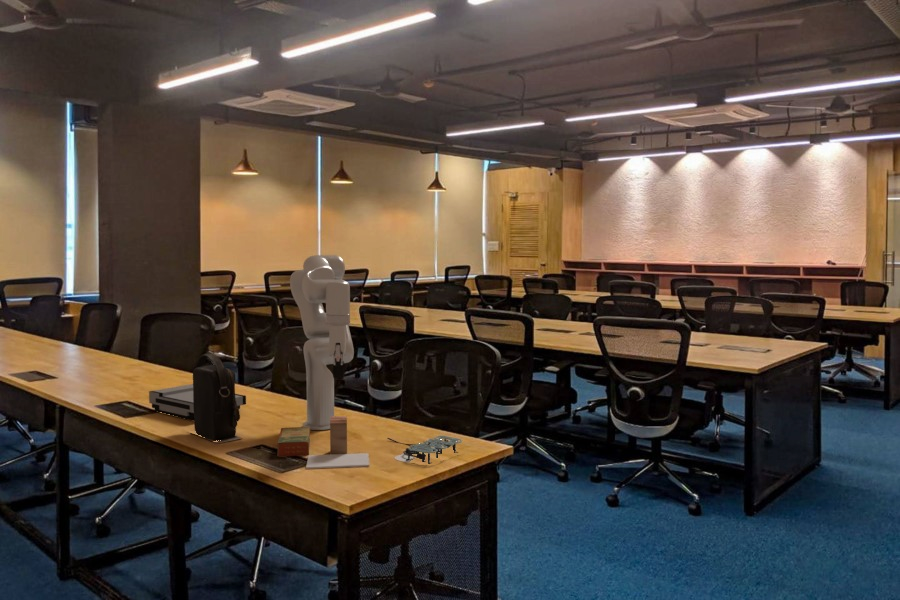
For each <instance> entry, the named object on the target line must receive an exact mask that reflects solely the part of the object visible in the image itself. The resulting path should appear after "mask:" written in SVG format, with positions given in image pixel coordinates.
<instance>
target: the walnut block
mask: <svg viewBox="0 0 900 600" xmlns="http://www.w3.org/2000/svg"><path fill="white" fill-rule="evenodd" d="M329 433H330V434H329V440H330V441H329V442H330V443H329V444H330V447H329V449H330V453H329V455H331V454H348V417H347V415H336V416H335V415H334V416H331V417H330V429H329Z"/></svg>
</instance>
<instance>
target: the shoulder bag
mask: <svg viewBox="0 0 900 600" xmlns="http://www.w3.org/2000/svg"><path fill="white" fill-rule="evenodd" d="M207 358H208V359H209V360H210V362H212V363H213V364H209V365H205V364H206V361H207ZM192 384H193V407H194V421H193V422H194V423H193V424H194V430H195V431H196V433H197V434H198V435H201V436H202V437H205V438H206V439H205V440H207V441H210V442H212V443H214V444H221V443H222V444H223V443H226V442H227V443H228V442H231V441H235V440H236V441H237V440H241V439H243V437H240V436H237V434H236V433H237V429H236V428H237V426H238V422H239V421H240V419H241V415H240V409H239V408H238V405H237V404H236V398H235V394H236V373H235V371H234V370H230V369H229V368H227V367H225V366H224V363H223V362H222V360H221V359H220V358H219V356H218V354H215V353H211V352H210V353H204V354H201V355H200V356H199V357H198V360H197V362H196V367H195V368H194V369H193V371H192ZM216 440H217V441H218V440H219V441H218V442H213V441H216ZM220 440H221V441H220Z"/></svg>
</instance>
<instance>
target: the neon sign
mask: <svg viewBox="0 0 900 600" xmlns="http://www.w3.org/2000/svg"><path fill="white" fill-rule="evenodd" d="M386 439H388V440H390V441H392V442H394V443H395V444H396V443H397V444H400V445H405V446H408V447H407V448H405V450H404V451H403V452H402V454H398V455H396V456H394V459H395V460H396V461H399V462H403V463H406V462H407V464H410V463H409V462H410V461H411V460H413V459H415V458H413V457H416V458H419V459H422V462H426V461H424V460H425V457H426V455H425V454H424V453H428V464H430V453H435V452H436V458H438V454H442V449H446V448H449V447H453V450H454V453H457V452H456V448H457V447H456V445H457V444H461V443H463V440H462V439H461V438H458V437H457V438H456V437H452V436H447V435H436V436H435V437H433V438H428V439H427V440H426V441H425V440H424V441H423V442H418V443H417V444H413V443H412V444H411V443H404V442H399V441H397V440H394V439H393V438H389V437H387V438H386ZM442 446H443V447H442ZM431 447H433V448H431ZM419 452H422V454H421V453H419ZM438 452H440V453H438ZM412 454H417V456H415V455H412ZM411 458H412V459H411Z"/></svg>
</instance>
